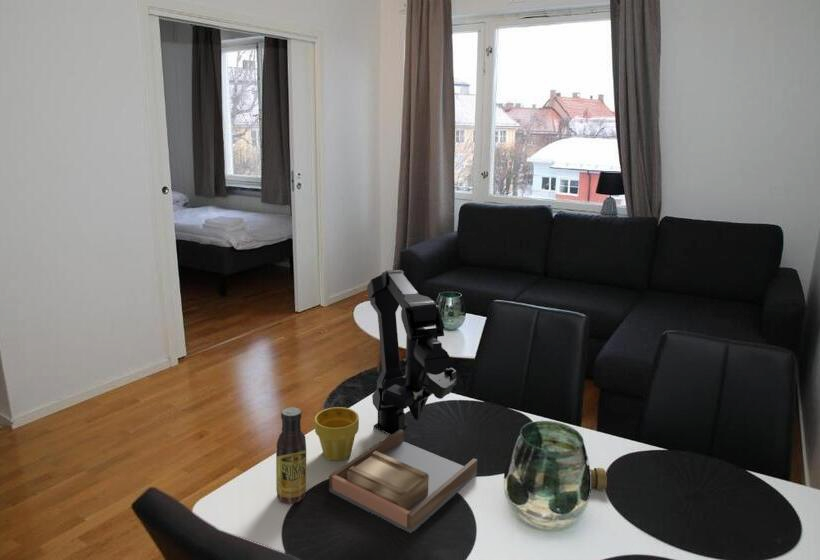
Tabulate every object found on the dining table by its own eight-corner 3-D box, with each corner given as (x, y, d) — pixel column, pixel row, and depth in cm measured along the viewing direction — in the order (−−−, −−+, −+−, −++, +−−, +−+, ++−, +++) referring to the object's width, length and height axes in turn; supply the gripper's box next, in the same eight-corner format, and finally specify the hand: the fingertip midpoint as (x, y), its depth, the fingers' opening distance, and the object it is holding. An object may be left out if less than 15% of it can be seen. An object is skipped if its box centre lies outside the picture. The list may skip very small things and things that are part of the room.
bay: (329, 491, 128) (328, 475, 127) (400, 443, 147) (400, 429, 146) (410, 533, 115) (411, 516, 114) (476, 475, 134) (477, 459, 133)
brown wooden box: (347, 490, 126) (347, 469, 125) (377, 469, 134) (377, 449, 133) (399, 517, 118) (399, 494, 117) (428, 493, 126) (428, 472, 125)
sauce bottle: (281, 509, 122) (277, 421, 117) (273, 492, 127) (269, 408, 122) (311, 500, 125) (309, 414, 120) (302, 484, 130) (299, 402, 125)
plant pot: (335, 471, 135) (335, 432, 133) (306, 454, 142) (305, 417, 139) (367, 452, 143) (367, 416, 140) (338, 437, 149) (338, 402, 147)
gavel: (546, 429, 149) (587, 431, 149) (545, 446, 150) (585, 448, 149) (560, 472, 129) (607, 475, 128) (559, 491, 130) (605, 494, 129)
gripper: (423, 380, 119) (421, 449, 123) (472, 352, 133) (469, 414, 137) (380, 365, 125) (380, 431, 129) (432, 340, 139) (429, 400, 144)
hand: (417, 419), depth 135 cm, fingers closed
